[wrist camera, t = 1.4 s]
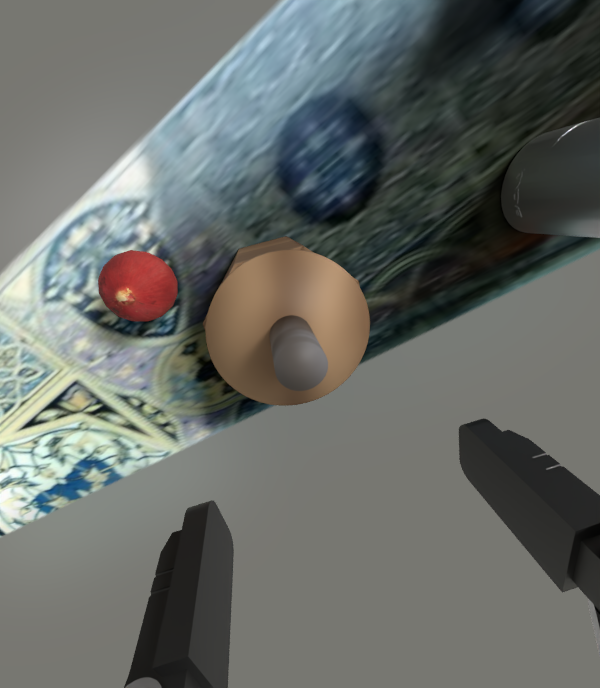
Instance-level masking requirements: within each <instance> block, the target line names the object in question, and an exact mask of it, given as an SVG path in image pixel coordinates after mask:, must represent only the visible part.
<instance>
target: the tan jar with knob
mask: <svg viewBox="0 0 600 688" xmlns="http://www.w3.org/2000/svg"><path fill="white" fill-rule="evenodd" d="M203 326H204V329H205V331H206V342H207V347H208V351H209V354H210V357H211V360H212V362H213V364H214V366H215V368H216V369H217V371H218V372H219V374H220V375H221V376H222V377H223V379H224V380H225V381H226V382H227V383H228V384H229V385H230V386H232V387H233V388H234V389H235V390H237V391H238V392H240V393H241V394H243V395H245V396H247V397H249V398H251V399H253V400H256V401H259V402H262V403H266V404H271V405H297V404H303V403H307V402H310V401H313V400H316V399H319V398H321V397H323V396H325V395H327V394H329V393H330V392H332V391H333V390H335V389H336V388H338V387H339V386H340V385H341V384H342V383H344V382H345V381H346V380H347V379H348V378H349V376H350V375H351V374H352V373H353V372H354V370H355V369H356V367H357V366H358V364H359V363H360V361H361V359H362V357H363V355H364V352H365V350H366V346H367V343H368V338H369V331H370V319H369V311H368V307H367V303H366V300H365V298H364V295H363V293H362V291H361V289H360V286H359V281H358V280H356V279H355V278H353V277H352V276H351V275H350V274H349V273H348V272H347V271H346V270H345V269H343V268H342V267H341V266H339V265H338V264H336V263H335V262H333V261H331V260H329V259H328V258H326V257H324V256H321V255H319V254H316V253H313V252H312V251H310V250H309V249H307V248H305V247H304V246H303V245H301V244H299V243H297V242H296V241H294V240H292V239H290V238H288V237H287V236H285V237H282V238H278V239H274V240H270V241H267V242H263V243H259V244H255V245H252V246H248V247H244V248H240V249H239V250H238V252H237V254H236V256H235V258H234V260H233V262H232V264H231V266H230V268H229V269H228V271H227V273H226V275H225V277H224V279H223V281H222V283H221V285H220V287H219V289H218V290H217V292H216V293H215V295H214V298H213V300H212V302H211V305H210V307H209V311H208V313H207V315H206V318H205V320H204V322H203Z"/></svg>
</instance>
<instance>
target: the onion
mask: <svg viewBox="0 0 600 688" xmlns="http://www.w3.org/2000/svg"><path fill="white" fill-rule="evenodd" d="M98 284H99V294H100V296H101V298H102V299H103V301H104V303H105V305H106V306H107V307H108V308H109V309H110V310H111V311H112V312H114V313H115V314H116V315H117V316H118V317H121V318H124V319H128V320H131V321H151V320H154V319H156V318H159V317H161V316H163V315H164V314H165V313H166V312H167V311H168V310H169V309H170V308H171V307H172V306H173V304H174V302H175V299H176V297H177V293H178V289H177V279H176V277H175V275H174V273H173V271H172V269H171V268H170V267H169V266H168V265H167V264H166V263H165V262H164V261H163V260H162V259H160V258H158V257H156V256H154V255H152V254H150V253H147V252H140V251H133V250H130V251H127V252H124V253H121V254H118V255H116V256H114V257H113V258H112V259H111V260H110V261H108V262H107V263H106V264H105V265H104V267H103V269H102V271H101V273H100V276H99V279H98Z"/></svg>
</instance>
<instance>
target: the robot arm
mask: <svg viewBox="0 0 600 688" xmlns="http://www.w3.org/2000/svg"><path fill="white" fill-rule="evenodd" d="M501 204H502V210H503V213H504V216H505V218H506V220H507V221H508V223H509V224H510V225H511V226H512V227H513V228H515V229H517V230H518V231H520V232H525V233H535V234H552V235H565V236H582V237H598V238H600V118H597V119H593V120H589V121H586V122H582V123H579V124H575V125H572V126H568V127H565V128H561V129H558V130H554V131H551V132H547V133H543V134H542V135H540V136H538V137H536V138H534V139H532V140H531V141H530V142H529V143H527V144H526V145H525V146H524V147H523V148H522V149H521V150H520V151H519V152H518V154H517V155H516V156H515V158H514V159H513V161H512V162H511V164H510V166H509V168H508V170H507V173H506V175H505V178H504V182H503V185H502V192H501ZM459 452H460V453H459V455H460V464H461V467H462V470H463V471H464V474H465V475H466V477H467V478H468V480H469V481H470V482H471V484H472V485H473V486H474V487H475V488H476V489H477V491H478V492H479V493H480V494H481V495H482V496H483V498H484V499H485V500H486V501H487V503H488V504H489V505H490V506H491V507H492V509H493V510H494V511H495V512H496V513H497V515H498V516H499V517H500V518H501V519H502V521H503V522H504V523H505V524H506V525H507V527H508V528H509V529H510V530H511V531H512V533H513V534H514V535H515V536H516V537H517V539H518V540H519V541H520V542H521V543H522V545H523V546H524V547H525V548H526V549H527V551H528V552H529V553H530V554H531V555H532V557H533V558H534V559H535V560H536V561H537V563H538V564H539V565H540V566H541V567H542V569H543V570H544V571H545V572H546V573H547V575H548V576H549V577H550V578H551V579H552V581H553V582H554V583H555V584H556V585H557V587H558V588H559V589H560V590H561V591H562V592H565V591H568V590H570V589H574V588H576V587H579V588H580V590H581V591H582V592H583V593H584V594H585V595H586V596H587V597H588V599H589V600H588V605H589V610H590V615H591V620H592V623H593V628H594V633H595V637H596V641H597V646H598V650H599V655H600V495H599V494H597V493H596V492H595V491H593V490H592V489H591V488H590V487H588V486H587V485H586V484H584V483H583V482H582V481H581V480H579V479H578V478H577V477H576V476H575V475H573V474H572V473H571V472H569V471H568V470H567V469H566V468H565V467H561V466H560V464H559V463H558V462H557V461H556V460H554V459H553V458H552V457H550V456H549V455H546V453H545V452H544V451H543V450H542V449H541V448H539V447H538V446H537V445H536V444H534V443H533V442H532V441H531V440H529V439H528V438H525V437H523V436H521V435H518V434H516V433H514V432H512V431H510V430H507V431H503V432H502V431H501V430H499V429H498V428H497V427H496V426H495V425H494V424H492V423H491V422H490V421H489V420H487V419H480V420H477V421H474V422H471V423H467V424H464V425H461V426H460V427H459ZM232 575H233V541H232V536H231V533H230V531H229V528H228V526H227V524H226V522H225V520H224V519H223V517H222V515H221V513H220V511H219V509H218V507H217V505H216V503H215V502H214V501H209V502H206V503H202V504H199V505H196V506H193V507H190V508H188V509H187V510H186V513H185V517H184V522H183V526H182V530H180V531H176V532H173V533H172V534H171V536H170V538H169V539H168V541H167V543H166V545H165V546H164V548H163V550H162V551H161V554H160V558H159V562H158V565H157V570H156V577H155V578H154V581H153V585H152V589H151V596H150V597H149V601H148V604H147V608H146V612H145V615H144V619H143V623H142V627H141V631H140V635H139V639H138V643H137V646H136V650H135V654H134V658H133V662H132V665H131V669H130V673H129V676H128V679H127V681H126V684H125V686H124V688H228V666H229V645H230V622H231V599H232Z"/></svg>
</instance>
